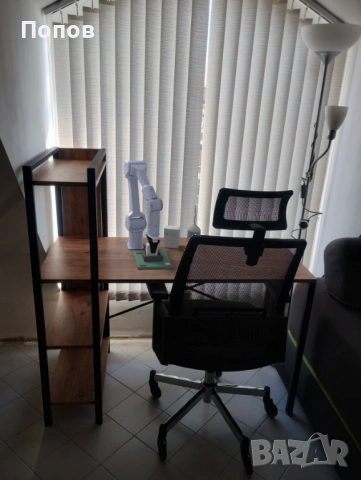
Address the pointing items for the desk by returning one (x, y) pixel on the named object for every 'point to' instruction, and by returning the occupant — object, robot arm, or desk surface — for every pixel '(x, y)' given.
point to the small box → (171, 236)
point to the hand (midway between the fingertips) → (152, 251)
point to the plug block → (148, 252)
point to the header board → (152, 260)
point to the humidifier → (193, 228)
